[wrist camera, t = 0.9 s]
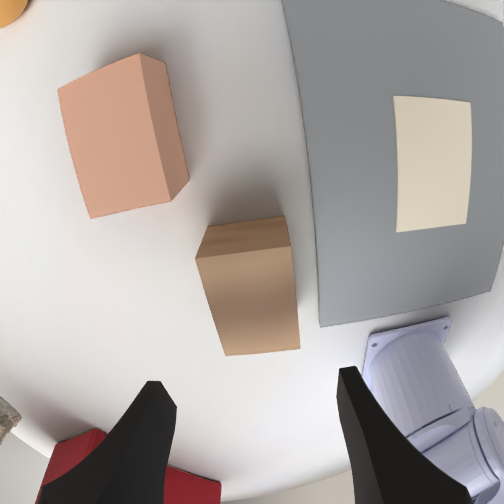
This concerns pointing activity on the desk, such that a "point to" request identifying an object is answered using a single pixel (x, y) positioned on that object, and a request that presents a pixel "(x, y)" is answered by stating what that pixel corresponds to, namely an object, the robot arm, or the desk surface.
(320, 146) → the board
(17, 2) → the figurine
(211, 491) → the storage cube
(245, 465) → the desk surface
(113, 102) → the terracotta block
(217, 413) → the desk surface
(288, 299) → the walnut block
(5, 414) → the stone castle ruin
